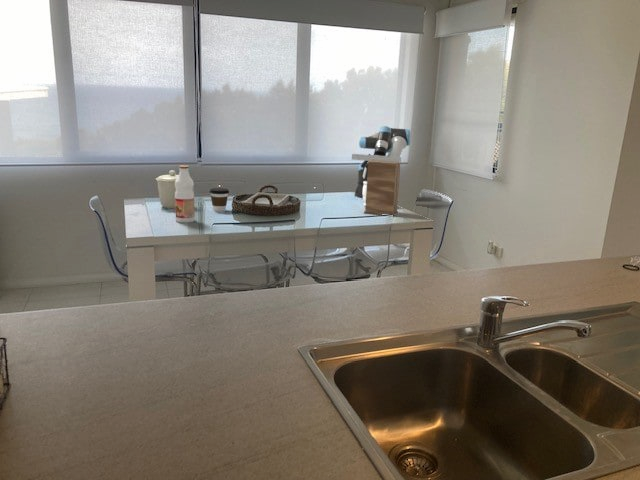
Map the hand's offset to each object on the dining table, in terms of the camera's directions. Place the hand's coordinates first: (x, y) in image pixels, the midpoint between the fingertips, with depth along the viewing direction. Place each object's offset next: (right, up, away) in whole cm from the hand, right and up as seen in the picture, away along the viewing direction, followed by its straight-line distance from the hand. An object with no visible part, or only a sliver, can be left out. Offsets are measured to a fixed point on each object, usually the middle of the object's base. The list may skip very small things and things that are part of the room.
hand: (374, 178), depth 332 cm
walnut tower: (+2, -23, -21) cm, 31 cm away
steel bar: (-2, +7, -27) cm, 28 cm away
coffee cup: (-90, -22, -32) cm, 99 cm away
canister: (-118, -20, -28) cm, 122 cm away
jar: (-3, -17, +1) cm, 17 cm away
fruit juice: (-102, -29, -61) cm, 123 cm away
